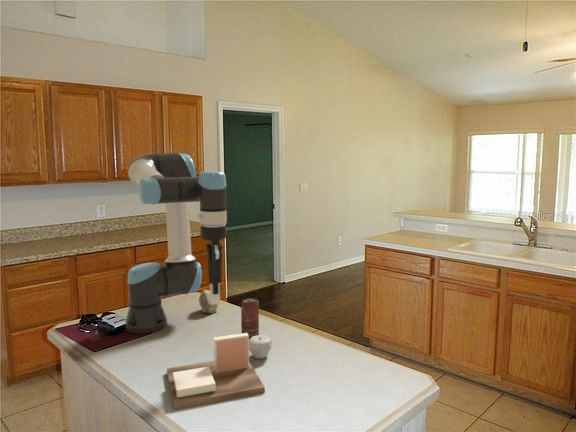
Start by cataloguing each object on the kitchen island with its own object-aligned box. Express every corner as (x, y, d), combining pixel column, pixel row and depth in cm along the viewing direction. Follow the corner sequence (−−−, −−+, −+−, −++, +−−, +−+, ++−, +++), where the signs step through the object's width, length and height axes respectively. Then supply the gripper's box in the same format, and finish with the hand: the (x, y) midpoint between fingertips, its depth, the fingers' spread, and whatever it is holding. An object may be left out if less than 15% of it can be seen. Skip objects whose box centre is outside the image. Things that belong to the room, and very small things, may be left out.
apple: (274, 361, 138) (273, 341, 137) (248, 363, 137) (248, 343, 136) (270, 350, 146) (270, 331, 145) (246, 352, 144) (246, 332, 143)
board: (167, 373, 130) (166, 368, 130) (245, 360, 138) (245, 355, 138) (174, 409, 112) (173, 404, 111) (264, 392, 120) (264, 387, 120)
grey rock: (209, 320, 178) (206, 301, 173) (194, 313, 182) (190, 294, 177) (224, 307, 185) (222, 288, 180) (209, 300, 189) (207, 282, 184)
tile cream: (214, 369, 129) (213, 337, 128) (247, 364, 133) (247, 332, 131) (216, 373, 127) (215, 340, 125) (249, 368, 130) (249, 335, 129)
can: (257, 342, 152) (256, 303, 150) (239, 340, 153) (238, 301, 151) (261, 335, 158) (261, 297, 156) (244, 333, 159) (244, 296, 157)
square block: (172, 372, 123) (176, 390, 113) (208, 366, 126) (215, 383, 117) (173, 380, 123) (177, 399, 114) (208, 374, 126) (215, 392, 117)
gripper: (197, 222, 132) (199, 297, 136) (203, 229, 120) (205, 312, 123) (222, 221, 135) (223, 295, 138) (230, 228, 122) (231, 309, 126)
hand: (215, 303), depth 131 cm, fingers closed
